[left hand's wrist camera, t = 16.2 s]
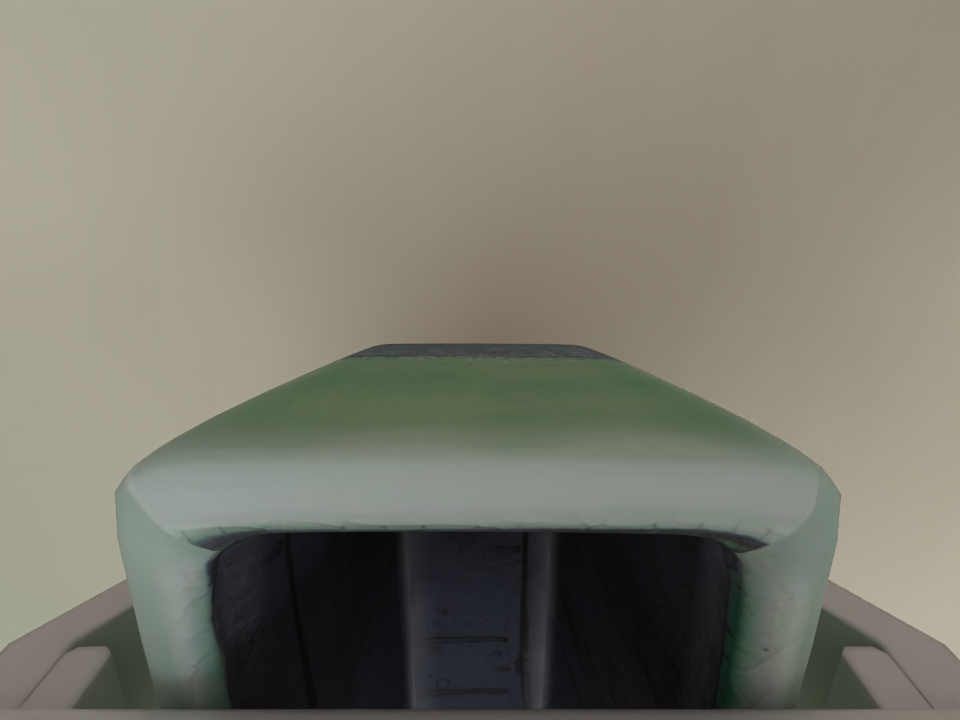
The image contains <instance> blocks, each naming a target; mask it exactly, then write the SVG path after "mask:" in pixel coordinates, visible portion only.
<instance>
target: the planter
mask: <svg viewBox="0 0 960 720" xmlns="http://www.w3.org/2000/svg"><path fill="white" fill-rule="evenodd" d="M115 498H116V515H117V533H118V541H119V546H120V550H121V555H122V559H123V563H124V568H125V572H126V576H127V580H128V585H129V589H130V593H131V598H132V602H133V606H134V611H135V615H136V619H137V623H138V628H139V632H140V636H141V641H142V645H143V648H144V652H145V656H146V659H147V663H148V667H149V670H150V674H151V678H152V681H153V685H154V688H155V692H156V696H157V699H158V703H159V707H160V709H795V707H796V703H797V700H798V696H799V693H800V689H801V685H802V682H803V678H804V674H805V671H806V667H807V664H808V660H809V656H810V653H811V649H812V645H813V641H814V637H815V633H816V628H817V624H818V620H819V616H820V612H821V607H822V603H823V599H824V595H825V591H826V586H827V582H828V578H829V574H830V569H831V565H832V561H833V557H834V553H835V548H836V544H837V537H838V525H839V512H840V500H841V494H840V492H839V490H838V489H837V487H836V486H835V484H834V483H833V481H832V480H831V479H830V477H829V476H828V475H827V473H826V472H825V471H824V469H823V468H822V467H821V466H819V465H818V464H817V463H815V462H814V461H813V460H811V459H810V458H808V457H807V456H806V455H804V454H803V453H802V452H800V451H799V450H797V449H796V448H794V447H792V446H791V445H789V444H787V443H786V442H784V441H782V440H781V439H779V438H777V437H775V436H773V435H772V434H770V433H768V432H766V431H765V430H763V429H761V428H759V427H758V426H756V425H754V424H752V423H751V422H749V421H747V420H745V419H743V418H741V417H739V416H737V415H735V414H733V413H731V412H729V411H727V410H725V409H723V408H721V407H719V406H717V405H715V404H713V403H711V402H709V401H707V400H705V399H703V398H701V397H699V396H696V395H694V394H692V393H690V392H688V391H686V390H684V389H681V388H679V387H677V386H675V385H673V384H671V383H669V382H666V381H664V380H662V379H660V378H658V377H656V376H653V375H651V374H649V373H647V372H644V371H642V370H640V369H638V368H635V367H633V366H631V365H629V364H626V363H624V362H622V361H619V360H617V359H614V358H612V357H610V356H607V355H605V354H602V353H600V352H597V351H595V350H592V349H589V348H586V347H582V346H576V345H557V344H384V345H378V346H374V347H371V348H368V349H365V350H363V351H360V352H357V353H355V354H352V355H350V356H347V357H345V358H342V359H340V360H338V361H335V362H333V363H330V364H328V365H326V366H323V367H321V368H319V369H316V370H314V371H312V372H310V373H307V374H305V375H303V376H300V377H298V378H296V379H294V380H291V381H289V382H287V383H285V384H283V385H280V386H278V387H276V388H274V389H272V390H269V391H267V392H265V393H263V394H261V395H258V396H256V397H254V398H252V399H250V400H248V401H246V402H244V403H242V404H240V405H238V406H236V407H233V408H231V409H229V410H227V411H225V412H223V413H221V414H219V415H217V416H215V417H213V418H211V419H209V420H207V421H205V422H203V423H202V424H200V425H198V426H196V427H194V428H193V429H191V430H189V431H187V432H185V433H184V434H182V435H180V436H178V437H176V438H175V439H173V440H171V441H169V442H168V443H166V444H165V445H163V446H161V447H160V448H158V449H156V450H155V451H154V452H152V453H151V454H150V455H148V456H147V457H145V458H144V459H143V460H141V461H140V462H139V463H137V464H136V465H134V467H133V468H132V469H131V470H130V472H129V473H128V474H127V475H126V476H125V478H124V479H123V480H122V482H121V483H120V485H119V486H118V488H117V489H116V491H115Z"/></svg>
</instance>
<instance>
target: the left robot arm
mask: <svg viewBox="0 0 960 720" xmlns="http://www.w3.org/2000/svg"><path fill="white" fill-rule="evenodd" d="M0 720H960V660H959V659H958V658H957V657H956V656H955V655H954V654H953V653H952V652H951V651H950V649H949V648H948V647H947V646H946V645H944V644H943V643H941V642H939V641H937V640H935V639H934V638H932V637H930V636H928V635H926V634H925V633H923V632H921V631H919V630H917V629H916V628H914V627H912V626H910V625H909V624H907V623H905V622H903V621H901V620H900V619H898V618H896V617H894V616H892V615H891V614H889V613H887V612H885V611H883V610H882V609H880V608H878V607H876V606H874V605H873V604H871V603H869V602H867V601H865V600H864V599H862V598H860V597H858V596H856V595H855V594H853V593H851V592H849V591H847V590H846V589H844V588H842V587H840V586H838V585H837V584H835V583H833V582H831V581H830V580H828V582H827V586H826V591H825V595H824V599H823V603H822V607H821V612H820V616H819V620H818V624H817V628H816V633H815V637H814V641H813V645H812V649H811V653H810V656H809V660H808V664H807V667H806V671H805V674H804V678H803V682H802V685H801V689H800V693H799V696H798V700H797V703H796V707H795V709H160V707H159V703H158V699H157V696H156V692H155V688H154V685H153V681H152V678H151V674H150V670H149V667H148V663H147V659H146V656H145V652H144V648H143V645H142V641H141V636H140V632H139V628H138V623H137V619H136V615H135V611H134V606H133V602H132V598H131V593H130V589H129V585H128V580H127V579H126V580H124V581H122V582H120V583H119V584H117V585H115V586H113V587H111V588H109V589H108V590H106V591H104V592H102V593H100V594H99V595H97V596H95V597H93V598H91V599H89V600H88V601H86V602H84V603H82V604H80V605H79V606H77V607H75V608H73V609H71V610H69V611H68V612H66V613H64V614H62V615H60V616H59V617H57V618H55V619H53V620H51V621H49V622H48V623H46V624H44V625H42V626H40V627H39V628H37V629H35V630H33V631H31V632H29V633H28V634H26V635H24V636H22V637H20V638H19V639H17V640H15V641H13V642H11V643H9V644H8V645H7V646H6V647H5V648H4V649H3V650H2V651H1V652H0Z"/></svg>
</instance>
